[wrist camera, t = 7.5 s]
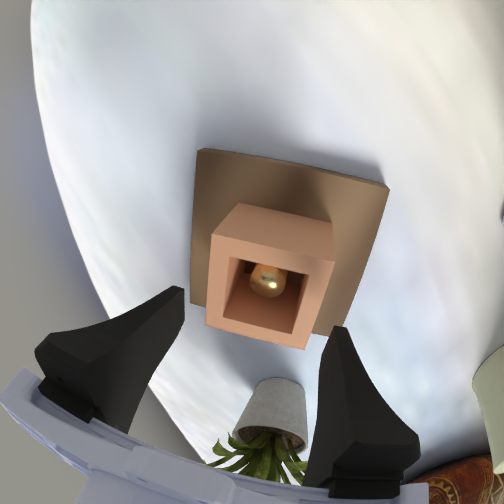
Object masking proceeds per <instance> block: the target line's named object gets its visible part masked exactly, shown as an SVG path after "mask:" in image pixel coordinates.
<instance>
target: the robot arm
mask: <svg viewBox="0 0 504 504" xmlns="http://www.w3.org/2000/svg"><path fill="white" fill-rule="evenodd" d="M502 225H503V226H504V217H503V220H502ZM184 320H185V312H184V288H180V287H177V286H171V287H170V288H168V289H166V290H165V291H163V292H161V293H160V294H158V295H156V296H155V297H153V298H151V299H150V300H148V301H146V302H145V303H143V304H141V305H139V306H137V307H135V308H134V309H132V310H130V311H128V312H126V313H124V314H122V315H119V316H117V317H115V318H112V319H110V320H107V321H105V322H101V323H98V324H95V325H92V326H88V327H84V328H81V329H76V330H71V331H63V332H55V333H50V334H49V335H48V336H47V337H46V338H45V339H44V340H43V341H42V342H41V343H40V344H39V345H38V346H37V347H36V348H35V351H34V352H35V357H36V359H37V362H38V363H39V365H40V367H41V369H42V371H43V373H44V374H45V376H46V377H45V378H44V380H43V381H42V380H41V379H40V378H39V377H38V376H37V375H36V374H34V373H33V372H31V371H30V370H29V369H27V368H26V367H24V366H23V367H22V369H21V370H20V371H19V372H18V373H17V374H16V375H15V377H14V378H13V379H12V380H11V381H10V382H9V383H8V385H7V386H6V387H5V388H4V389H3V391H2V392H1V393H0V404H1V405H2V406H3V407H4V408H5V410H6V411H7V412H8V413H9V414H10V415H11V417H12V418H13V419H14V420H15V421H16V422H17V423H18V425H20V426H21V427H22V428H23V429H25V431H27V432H28V433H29V434H30V435H32V436H33V437H34V438H35V439H36V440H38V441H39V442H40V443H42V444H43V445H44V446H46V447H47V448H48V449H49V450H51V451H52V452H53V453H55V454H56V455H57V456H59V457H60V458H61V459H63V460H64V461H66V462H67V463H69V464H70V465H71V466H73V467H74V468H76V469H77V470H79V471H80V472H82V473H83V474H85V475H87V476H88V477H89V478H88V480H87V481H86V483H85V485H84V487H83V488H82V490H81V492H80V494H79V495H78V497H77V499H76V501H75V502H74V504H429V486H428V483H415V484H405V485H401V486H400V480H402V479H403V471H404V470H405V469H407V468H408V467H410V466H411V465H412V464H414V463H415V462H416V461H417V460H418V459H419V458H420V456H421V452H420V442H419V437H418V435H417V434H416V433H415V432H414V431H413V430H412V429H411V428H410V427H408V426H407V425H406V424H405V423H404V422H403V421H402V420H401V419H400V418H399V417H398V416H397V415H396V414H395V412H394V411H393V410H392V409H391V408H390V407H389V405H388V404H387V403H386V402H385V400H384V399H383V398H382V396H381V395H380V394H379V392H378V391H377V389H376V387H375V386H374V384H373V383H372V381H371V379H370V378H369V376H368V374H367V372H366V370H365V368H364V366H363V364H362V362H361V360H360V358H359V356H358V353H357V351H356V349H355V347H354V344H353V342H352V339H351V337H350V334H349V332H348V329H347V328H346V327H341V326H336V325H334V327H333V329H332V331H331V334H330V336H329V339H328V341H327V343H326V346H325V348H324V350H323V353H322V356H321V362H320V369H319V382H318V408H317V420H316V426H315V431H314V437H313V442H312V447H311V451H310V456H309V460H308V464H307V468H306V471H305V475H304V479H303V482H302V485H301V486H297V485H291V484H284V483H278V482H273V481H267V480H262V479H258V478H253V477H249V476H244V475H240V474H236V473H232V472H228V471H225V470H221V469H217V468H214V467H211V466H207V465H204V464H201V463H198V462H195V461H192V460H189V459H186V458H183V457H180V456H177V455H175V454H172V453H169V452H167V451H164V450H162V449H159V448H157V447H154V446H152V445H149V444H147V443H144V442H142V441H140V440H138V439H136V438H133V437H131V436H129V435H127V434H128V431H129V428H130V426H131V423H132V420H133V418H134V415H135V413H136V410H137V408H138V405H139V403H140V400H141V398H142V396H143V394H144V391H145V389H146V387H147V385H148V383H149V381H150V379H151V377H152V375H153V373H154V372H155V370H156V368H157V367H158V365H159V364H160V362H161V360H162V359H163V357H164V356H165V354H166V353H167V351H168V350H169V348H170V347H171V345H172V344H173V342H174V340H175V339H176V337H177V335H178V333H179V331H180V329H181V327H182V325H183V323H184Z"/></svg>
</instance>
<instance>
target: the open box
mask: <svg viewBox="0 0 504 504" xmlns="http://www.w3.org/2000/svg"><path fill="white" fill-rule="evenodd" d="M246 260H247V261H251V262H256V263H260V264H264V265H268V266H273V267H277V268H281V269H285V270H290V271H294V272H298V273H303V275H302V279H301V283H300V286H298V285H293V284H289V283H285V287H284V290H283V292H282V293H281V294H280V295H278V296H277V297H274V298H265V297H261V296H259V295H258V294H256V293H255V292H254V291H253V290H252V288H251V286H250V277H251V274H247V273H244V268H245V261H246ZM334 264H335V251H334V237H333V224H332V223H329V222H325V221H320V220H316V219H312V218H307V217H303V216H299V215H294V214H290V213H285V212H281V211H276V210H272V209H267V208H262V207H258V206H253V205H248V204H243V203H238V204H237V205H236V206H235V207H234V208H233V209H232V211H231V212H230V213H229V214H228V215H227V216H226V218H225V219H224V220H223V221H222V222H221V223H220V225H219V226H218V227H217V228H216V229H215V230H214V232H213V233H212V237H211V248H210V261H209V274H208V288H207V303H206V320H205V325H207V326H211V327H214V328H218V329H221V330H225V331H229V332H232V333H236V334H240V335H243V336H247V337H251V338H255V339H259V340H263V341H267V342H271V343H276V344H280V345H284V346H288V347H293V348H297V349H302V350H305V347H306V345H307V342H308V339H309V337H310V334H311V331H312V329H313V326H314V323H315V320H316V318H317V315H318V312H319V309H320V306H321V303H322V301H323V298H324V295H325V292H326V289H327V286H328V283H329V280H330V277H331V274H332V270H333V267H334Z"/></svg>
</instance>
